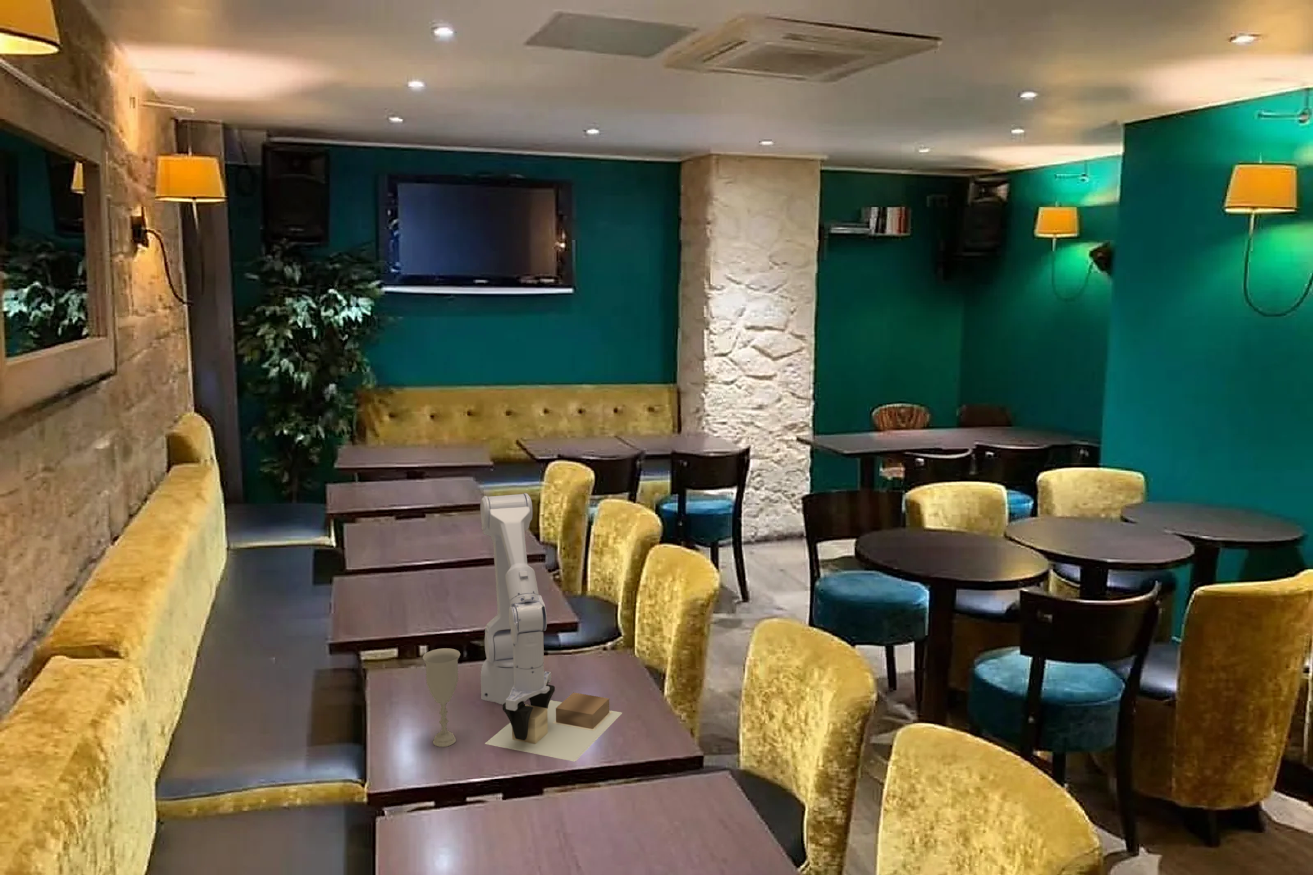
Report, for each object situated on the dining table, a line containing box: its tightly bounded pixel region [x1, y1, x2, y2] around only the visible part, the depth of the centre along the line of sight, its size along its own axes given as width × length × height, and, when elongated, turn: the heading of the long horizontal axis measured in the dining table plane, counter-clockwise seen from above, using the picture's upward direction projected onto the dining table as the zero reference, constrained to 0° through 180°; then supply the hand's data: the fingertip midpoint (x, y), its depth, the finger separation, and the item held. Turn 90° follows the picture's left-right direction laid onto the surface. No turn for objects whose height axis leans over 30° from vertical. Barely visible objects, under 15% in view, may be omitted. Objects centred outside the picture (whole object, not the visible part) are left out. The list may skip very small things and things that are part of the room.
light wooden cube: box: [512, 704, 548, 744], centre depth 192 cm, size 5×5×5 cm
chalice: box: [422, 647, 461, 748], centre depth 189 cm, size 7×7×18 cm
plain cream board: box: [484, 699, 623, 763], centre depth 196 cm, size 19×22×1 cm
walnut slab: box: [556, 691, 610, 729], centre depth 200 cm, size 8×8×3 cm
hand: (530, 730), depth 193 cm, fingers open, 7 cm apart
